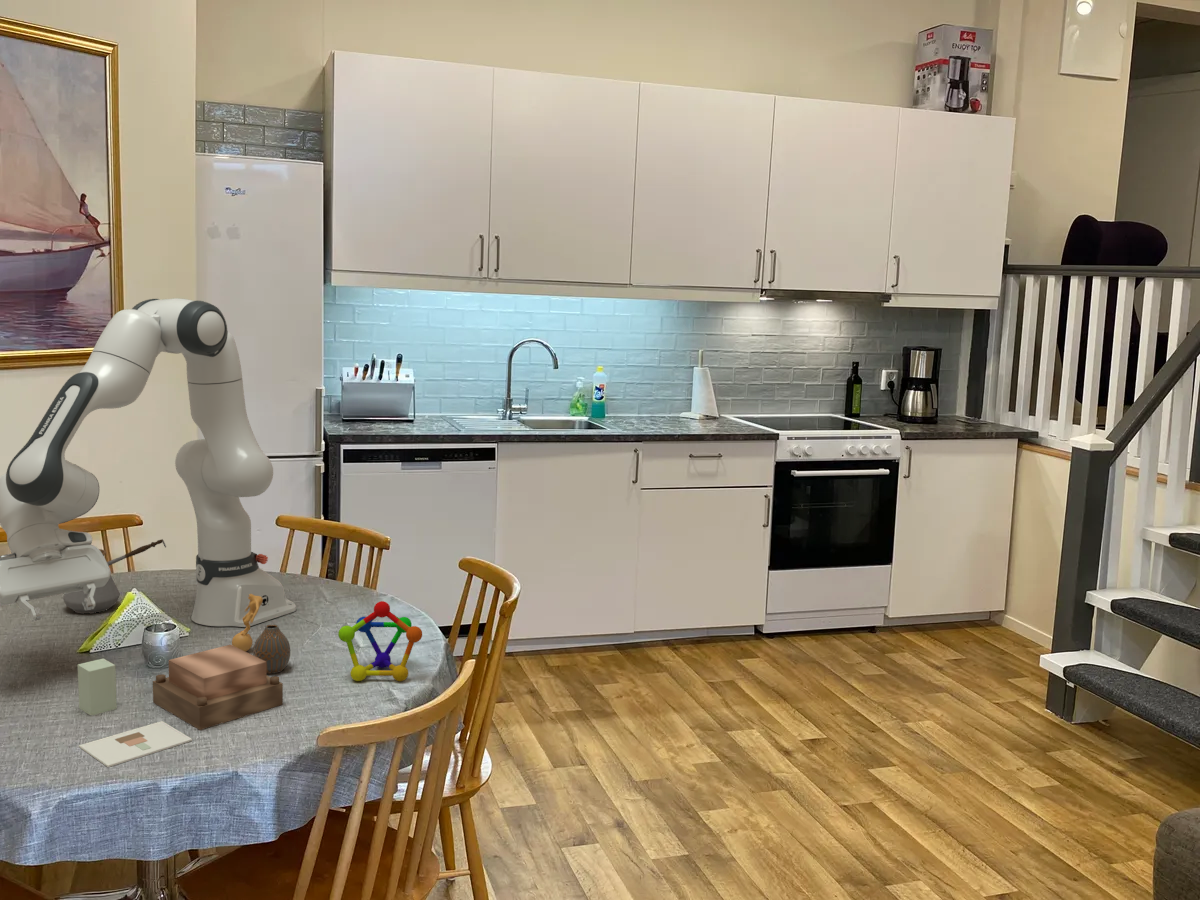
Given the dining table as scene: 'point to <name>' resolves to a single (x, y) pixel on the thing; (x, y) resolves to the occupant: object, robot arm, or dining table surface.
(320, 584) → the dining table surface
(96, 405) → the robot arm
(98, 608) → the coffee pot
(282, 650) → the vase
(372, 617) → the educational toy
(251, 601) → the figurine
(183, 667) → the stacked wooden pedestal
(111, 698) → the upright grey-green brick
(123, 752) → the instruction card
